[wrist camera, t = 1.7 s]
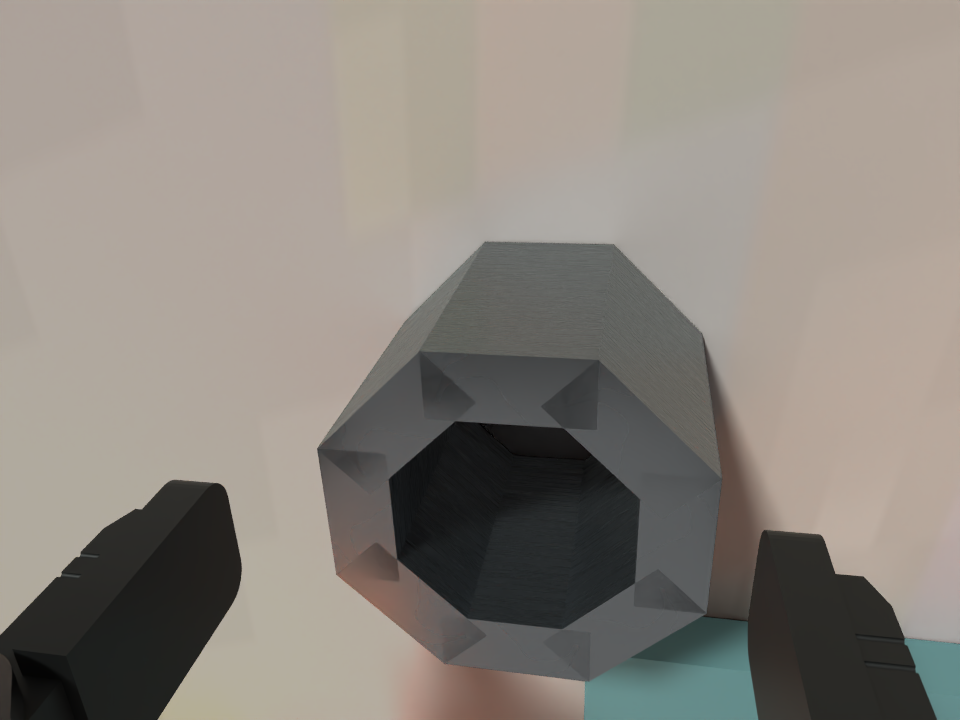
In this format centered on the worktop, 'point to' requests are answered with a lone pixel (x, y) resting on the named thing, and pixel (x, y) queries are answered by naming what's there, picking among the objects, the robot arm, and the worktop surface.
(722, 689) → the shaft stand
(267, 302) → the worktop surface
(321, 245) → the worktop surface
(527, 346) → the tube
